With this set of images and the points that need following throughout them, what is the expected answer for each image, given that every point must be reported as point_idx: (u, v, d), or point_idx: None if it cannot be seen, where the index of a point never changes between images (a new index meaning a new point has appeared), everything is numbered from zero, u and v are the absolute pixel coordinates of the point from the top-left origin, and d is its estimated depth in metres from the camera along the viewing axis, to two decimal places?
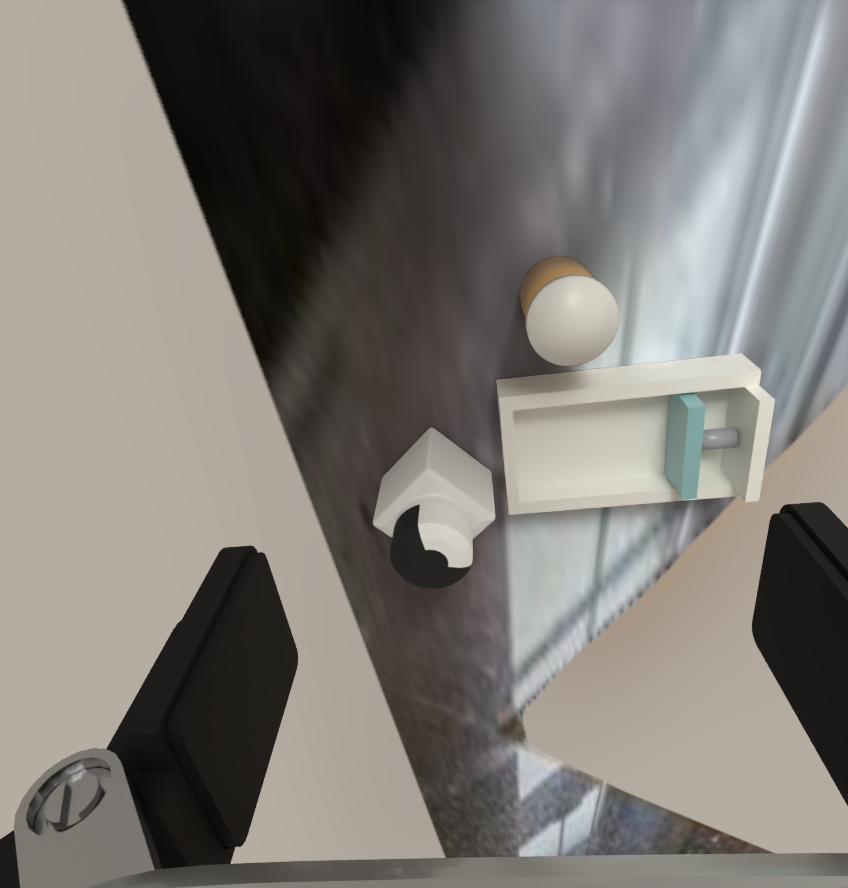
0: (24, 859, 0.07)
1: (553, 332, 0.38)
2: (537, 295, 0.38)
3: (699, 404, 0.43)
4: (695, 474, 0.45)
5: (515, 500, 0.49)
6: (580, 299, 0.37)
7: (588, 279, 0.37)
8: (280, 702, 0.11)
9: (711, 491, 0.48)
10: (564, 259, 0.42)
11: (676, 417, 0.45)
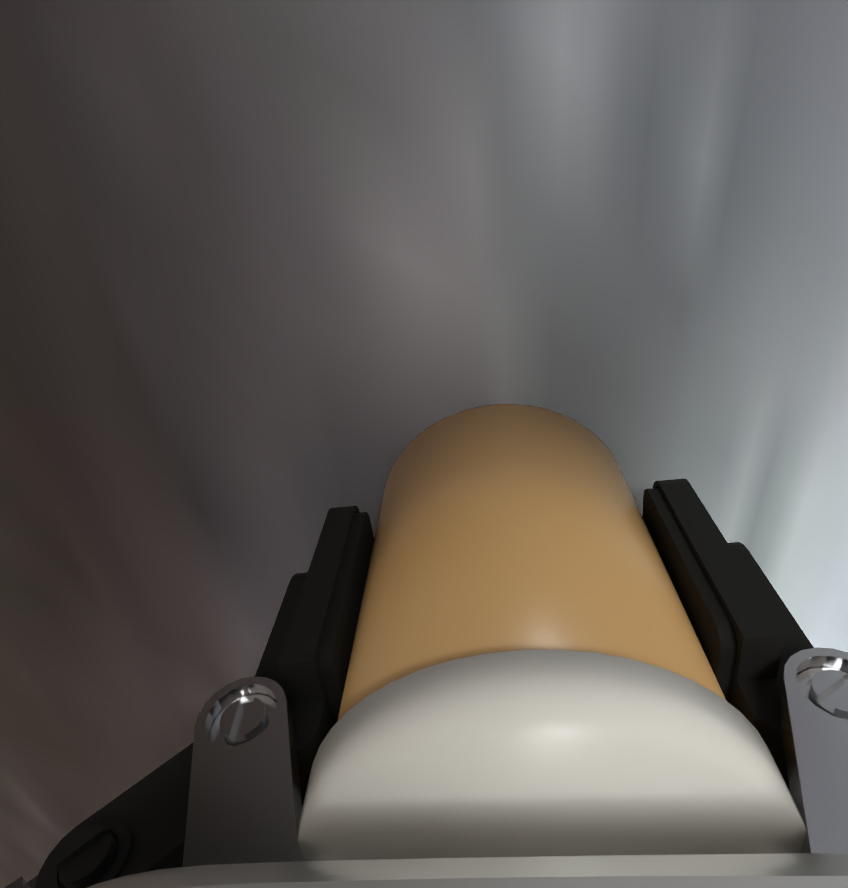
0: (197, 760, 0.07)
1: None
2: (333, 768, 0.06)
3: None
4: None
5: None
6: (591, 825, 0.06)
7: (647, 741, 0.05)
8: None
9: None
10: (524, 431, 0.11)
11: None
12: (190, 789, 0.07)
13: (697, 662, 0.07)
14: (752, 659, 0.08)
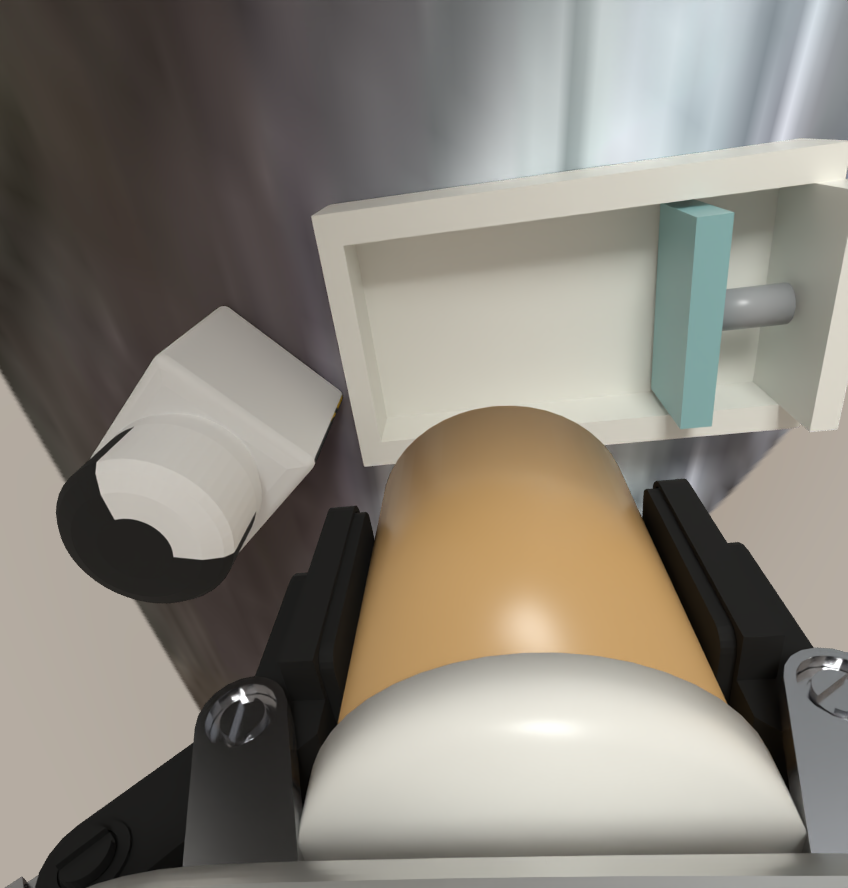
0: (197, 760, 0.07)
1: None
2: (333, 771, 0.06)
3: (720, 212, 0.20)
4: (710, 374, 0.22)
5: (372, 438, 0.27)
6: (591, 828, 0.06)
7: (648, 745, 0.05)
8: None
9: (738, 419, 0.25)
10: (525, 433, 0.11)
11: (672, 261, 0.23)
12: (190, 789, 0.07)
13: (698, 665, 0.07)
14: (752, 659, 0.08)
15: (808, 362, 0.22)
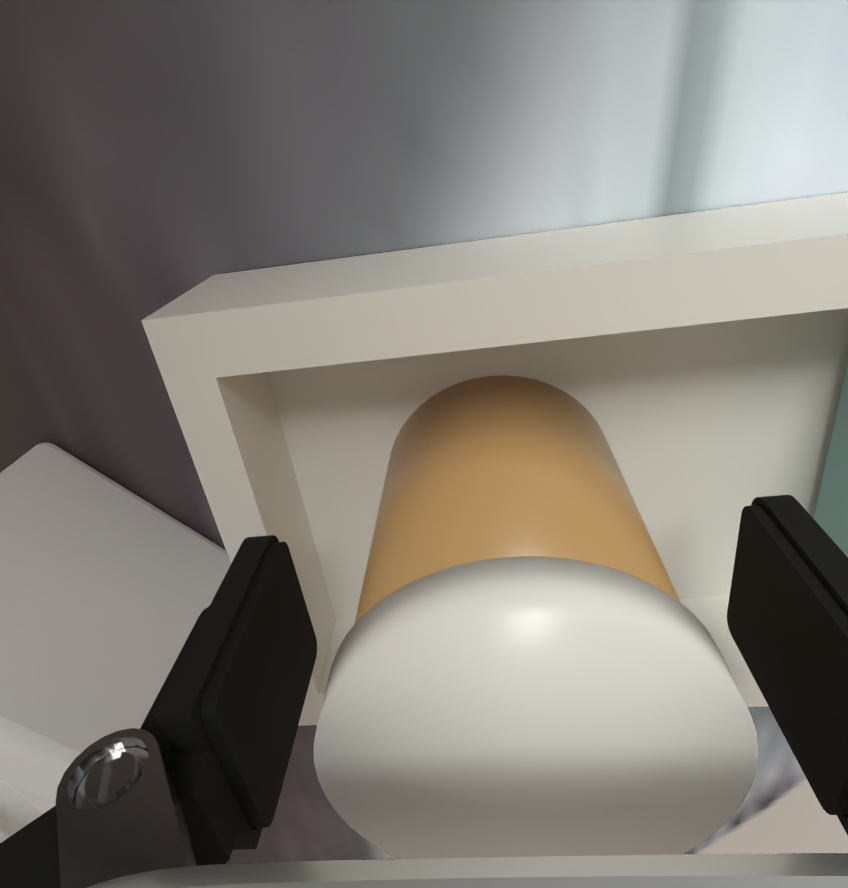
0: (64, 831, 0.07)
1: (441, 796, 0.08)
2: (351, 656, 0.08)
3: None
4: None
5: None
6: (565, 698, 0.07)
7: (608, 619, 0.07)
8: (302, 689, 0.11)
9: None
10: (517, 397, 0.12)
11: None
12: (60, 864, 0.06)
13: (660, 579, 0.08)
14: None
15: None
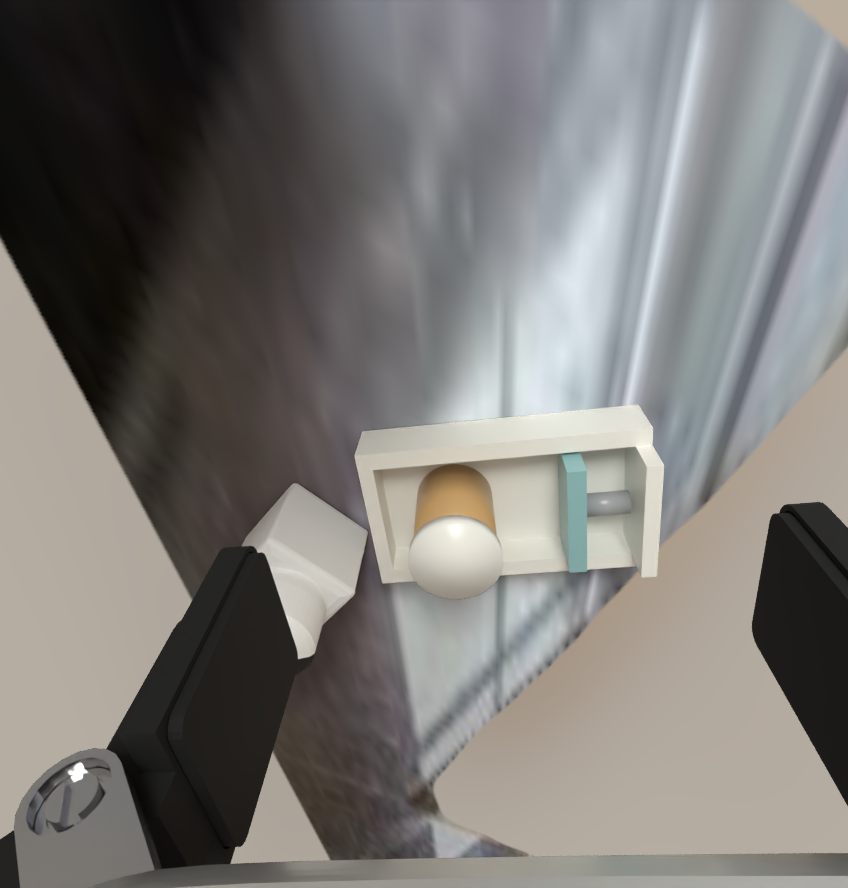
0: (24, 859, 0.07)
1: (437, 571, 0.37)
2: (416, 538, 0.36)
3: (580, 467, 0.37)
4: (583, 545, 0.39)
5: (388, 568, 0.43)
6: (459, 542, 0.35)
7: (465, 525, 0.35)
8: (280, 702, 0.11)
9: (609, 560, 0.42)
10: (456, 472, 0.41)
11: (562, 479, 0.39)
12: None
13: (484, 520, 0.37)
14: None
15: (638, 539, 0.39)
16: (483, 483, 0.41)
